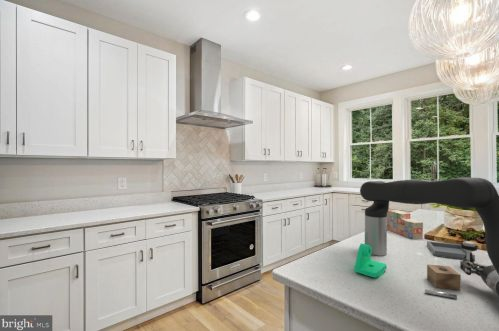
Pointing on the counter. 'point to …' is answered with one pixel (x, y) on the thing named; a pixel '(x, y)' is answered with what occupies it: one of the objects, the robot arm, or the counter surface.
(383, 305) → the counter surface
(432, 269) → the block
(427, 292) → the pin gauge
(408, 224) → the stack of blocks
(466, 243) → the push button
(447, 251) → the tray
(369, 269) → the camera mount
